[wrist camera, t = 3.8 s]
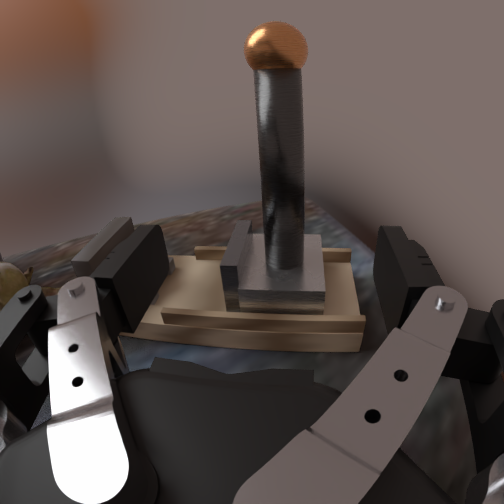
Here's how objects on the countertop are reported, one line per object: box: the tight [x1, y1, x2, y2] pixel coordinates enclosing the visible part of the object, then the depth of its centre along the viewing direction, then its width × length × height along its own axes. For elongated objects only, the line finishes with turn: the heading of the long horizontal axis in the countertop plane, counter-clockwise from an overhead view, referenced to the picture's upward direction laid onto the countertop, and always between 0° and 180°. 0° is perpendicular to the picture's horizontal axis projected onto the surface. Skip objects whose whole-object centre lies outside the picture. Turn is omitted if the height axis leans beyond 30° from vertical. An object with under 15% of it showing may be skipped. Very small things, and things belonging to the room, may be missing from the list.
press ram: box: [220, 21, 326, 315], centre depth 21 cm, size 7×8×20 cm
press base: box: [71, 217, 366, 352], centre depth 26 cm, size 24×10×7 cm, turn 82°
